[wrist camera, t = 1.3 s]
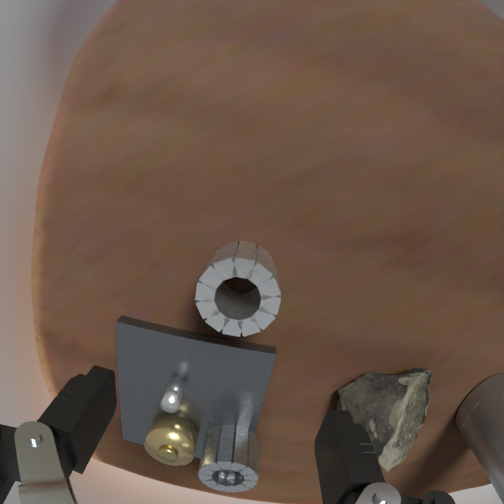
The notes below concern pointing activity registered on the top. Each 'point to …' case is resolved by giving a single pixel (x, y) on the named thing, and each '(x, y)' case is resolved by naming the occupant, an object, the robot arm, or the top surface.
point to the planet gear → (236, 303)
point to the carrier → (186, 387)
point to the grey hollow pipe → (229, 459)
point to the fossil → (388, 410)
